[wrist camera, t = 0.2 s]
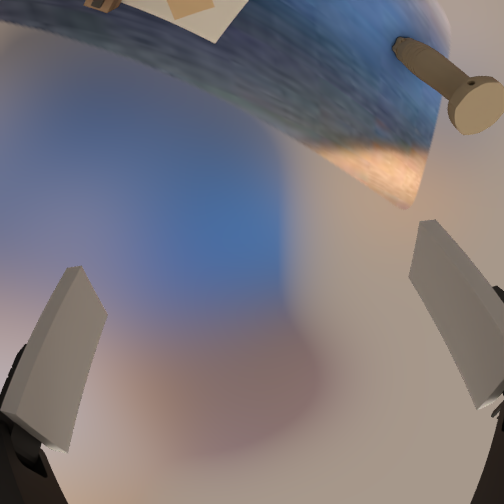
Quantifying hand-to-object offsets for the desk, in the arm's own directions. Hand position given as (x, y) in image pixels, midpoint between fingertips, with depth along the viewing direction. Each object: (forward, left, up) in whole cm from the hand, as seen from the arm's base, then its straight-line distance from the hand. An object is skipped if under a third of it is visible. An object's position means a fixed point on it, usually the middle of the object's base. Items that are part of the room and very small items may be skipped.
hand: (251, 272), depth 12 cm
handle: (-13, +16, -28) cm, 34 cm away
